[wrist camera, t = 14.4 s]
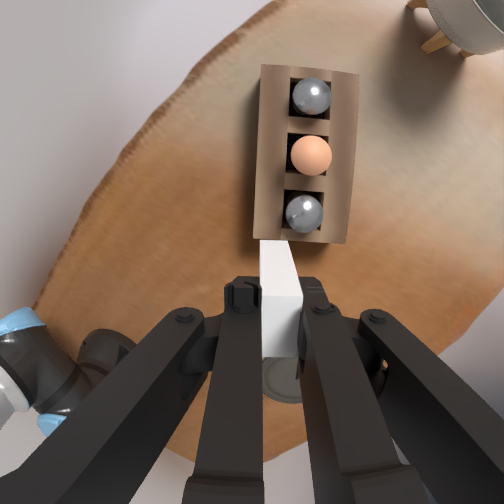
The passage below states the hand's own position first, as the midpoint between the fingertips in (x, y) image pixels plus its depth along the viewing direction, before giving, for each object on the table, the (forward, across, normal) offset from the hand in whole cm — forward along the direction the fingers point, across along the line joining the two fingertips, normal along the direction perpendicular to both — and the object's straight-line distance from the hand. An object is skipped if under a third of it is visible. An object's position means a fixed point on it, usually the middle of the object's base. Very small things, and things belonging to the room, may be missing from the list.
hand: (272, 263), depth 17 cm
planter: (+27, +28, +30) cm, 49 cm away
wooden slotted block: (+27, +5, +6) cm, 28 cm away
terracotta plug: (+25, +5, +6) cm, 26 cm away
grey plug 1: (+26, +5, +13) cm, 30 cm away
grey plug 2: (+26, +5, -1) cm, 27 cm away
